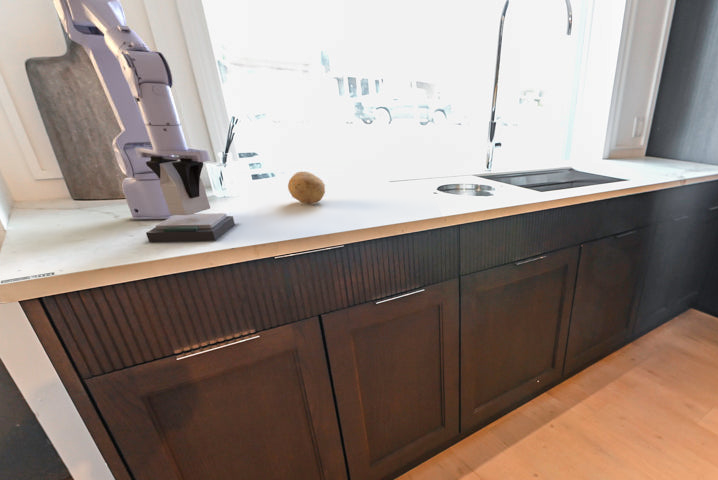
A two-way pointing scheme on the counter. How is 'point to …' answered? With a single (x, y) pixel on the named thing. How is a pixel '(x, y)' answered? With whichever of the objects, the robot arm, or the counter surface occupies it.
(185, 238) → the scale
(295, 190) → the potato
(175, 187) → the grey angular block
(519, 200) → the counter surface
